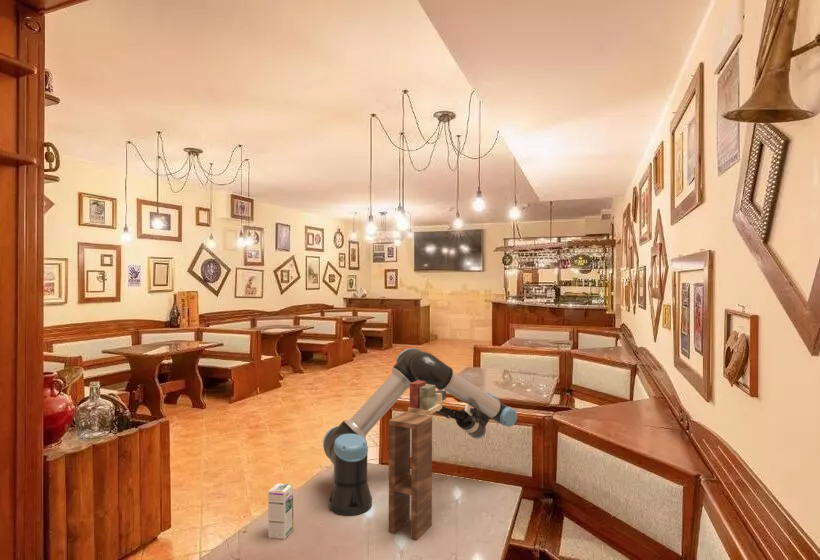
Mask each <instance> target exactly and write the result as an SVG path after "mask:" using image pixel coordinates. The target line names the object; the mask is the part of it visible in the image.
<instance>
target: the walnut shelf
mask: <svg viewBox="0 0 820 560" xmlns="http://www.w3.org/2000/svg"><path fill="white" fill-rule="evenodd" d="M409 521H410V529H411V530H410V539H411V540H413V541H418V540H419V539H420V538H421V537H422V536H423V535H424V534H425V533H426V532H427V531H428V530H429V529H430V528H431V527H432V526H433V416H432V415H425V414H418V413H412V412H403V413H400V414H398V415H397V416H395V417H392V418H390V419H389V420H388V533H389V534H393V535H394V534H396V533H397V532H398V531H399V530H400V529H401V528H402V527H403V526H405V525H406V524H407V523H408V522H409ZM405 523H406V524H405Z"/></svg>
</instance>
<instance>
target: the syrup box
mask: <svg viewBox="0 0 820 560" xmlns="http://www.w3.org/2000/svg"><path fill="white" fill-rule="evenodd" d="M267 514H268V515H267V517H268V518H267V525H268V526H267V529H268V531H267V536H268V538H270V539H271V538H272V539H278V540H286V539H287V537H288V536H289V535H290V534H291V533H292V532H293V531H294V484H292V483H291V484H290V483H286V482H285V483H282V482H280V483H279V482H277V483H276V484H275V485H274V486H272V487H271V488H270V489H269V490H268V491H267Z"/></svg>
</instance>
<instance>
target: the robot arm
mask: <svg viewBox="0 0 820 560" xmlns="http://www.w3.org/2000/svg"><path fill="white" fill-rule="evenodd" d="M418 380H419V381H426V385H428V384H430V385H436V390H443V391H446V393H449V395H452V396H454V397H455V398H457V399H458V400H461V401H462V402H464V403H465V408H464V409H461V410H457V409H456V408H455V409H454V408H452V409H451V408H448V407H446V406H443V405H442V409H440V410H438V411H436V412H434V413H435V414H439V415H440V416H442V417H445V418H447V419H448V420H449V419H453V420H455V422H456V425H457V426H459V428H460V429H462V430H463V431H464V432H465V433H466V434H468V435H469V436H470V437H472V438H473V439H476V440H479V439H482V438H484V436H485V435H486V433H487V427H486V426H488V423H489V421H490V420H492V421H494V422H496V423H498V424H499V425H501V426H504V427H508V428H509V427H512V426H514V425H515V424H516V422H517V420H518V414H517V411H516V409H514V408H512V407H511V406H508V405H506V404H505V403H503V402H501V401H500V399H499V397H498V396H497V397H496V396H495V395H494V394H492V393H490V392H486V391H483V390H482V389H481V388H479V387H477V386H476V385H474V384H472V382H469V381H468V380H466V379H465V378H463V377H461V376H459V375H458V374H457V373H455V372H454V369H453V368H452V367H450V366H449V365H447V364H446V363H445V362H443V361H442V360H440V359H439V358H438V357H437V356H435V355H434V354H432V353H430V352H428V351H427V352H426V351H422V350H421V349H418V348H406V349H405V350H403V351H402V352H400V353H399V354H398V356H397V358H396V363H395V364H394V365H393V366H392V368H391V374H390V376H388V378H387V379H386V380H385V381H383V383H382V384H381V385H380V386H379V388H377V389H376V390H375V391H374V393H372V395H371V396H370V397H369V398H368V399H367V401H365V402H364V404H363V405H362V406H361V407H360V408H358V410H357V411H356V412H355V413H354V415H353V416H352V417H351V418H350V419H343V420H342V422H341V423H340V424H339V425H338V426H334V427H331V428H329V430H328V431H327V432H326V433H325V435H324V437H323V441H322V448H323V452H324V453H325V455H326V457H327V458H328V459H329V460H330V462H331V463H332V464H333V487H332V488H331V493H330V495H329V498H328V509H329V511H330V512H332V513H334V514H336V515H338V516H339V515H340V516H356V515H360V514H363V513H366V512H368V511H369V510H370V509H371V508H372V507H373V496H372V494H371V490H370V487H369V484H368V453H369V449H368V447H369V446H368V442H367V441H368V440H367V434H368V433H369V432H370V431H371V430H372V429H373V428H374V427H375V426H376V425H377V423H379V421H380V420H381V419H382V418H383V417H385V414H386V413H387V412H388V411H389V410H390V409H391V408H392V407H393V406H394V405H395V403H396V402H397V401H398V400H399V399H400V398H401V397H402V396H403V394H404V393H405V392H406V391H407V390H409V389H410V383H412V382H415V381H418Z"/></svg>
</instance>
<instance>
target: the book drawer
mask: <svg viewBox="0 0 820 560" xmlns="http://www.w3.org/2000/svg"><path fill="white" fill-rule="evenodd" d="M445 400H447V391H445V390H438V389H437V388H436V385H430V384H426V381H419V380H418V381H415V382H412V383H410V388H409V406H408V407H407V413H413V414H420V415H427V416H432V415H433V414H434V413H435V412H436V411H438V410H440V409H442V406H443V401H445Z"/></svg>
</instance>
